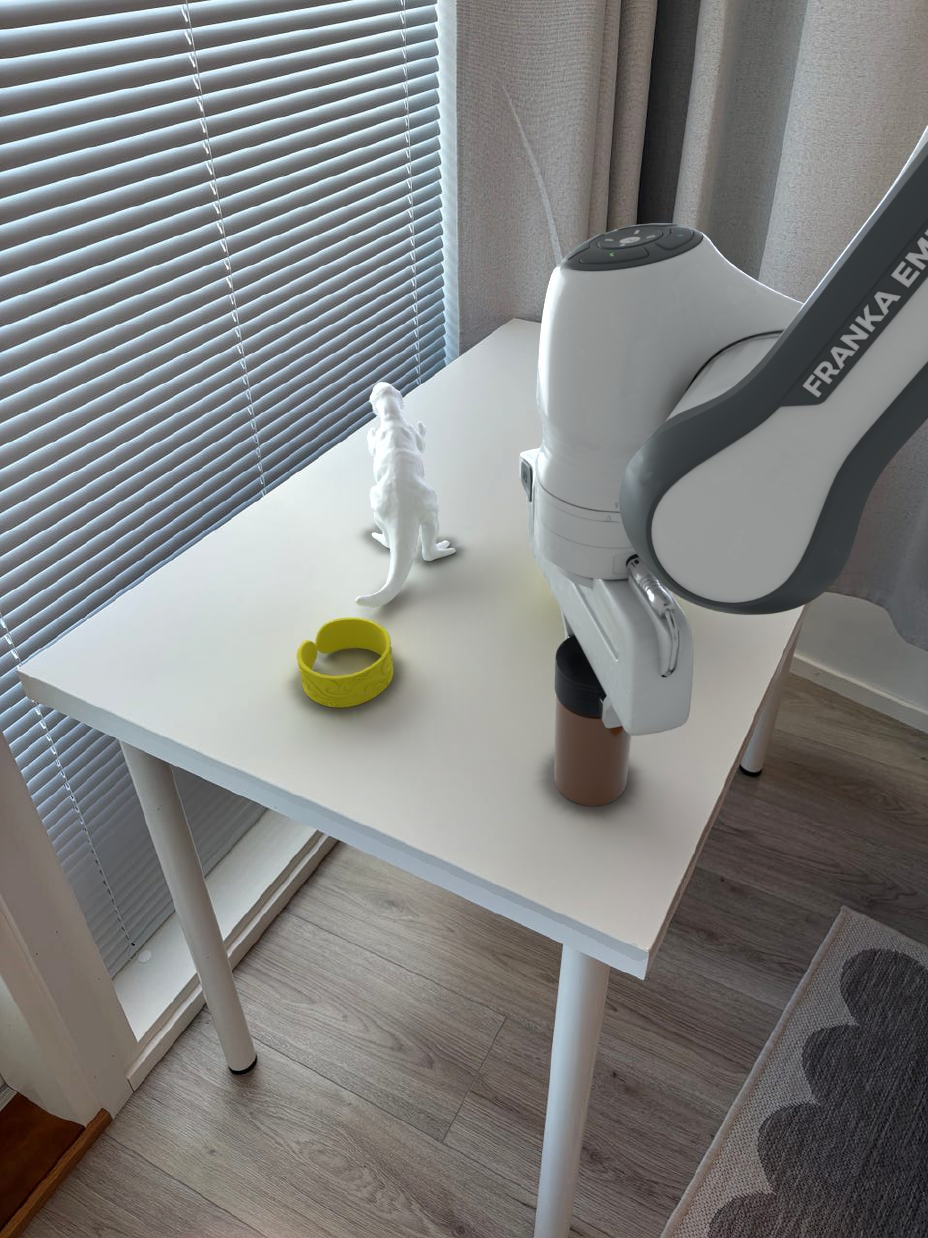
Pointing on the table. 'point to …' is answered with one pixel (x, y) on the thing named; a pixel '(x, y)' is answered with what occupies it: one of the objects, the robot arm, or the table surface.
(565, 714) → the jar
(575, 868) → the table surface
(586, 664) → the lid
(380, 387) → the dinosaur figurine
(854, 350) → the robot arm
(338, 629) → the bracelet
